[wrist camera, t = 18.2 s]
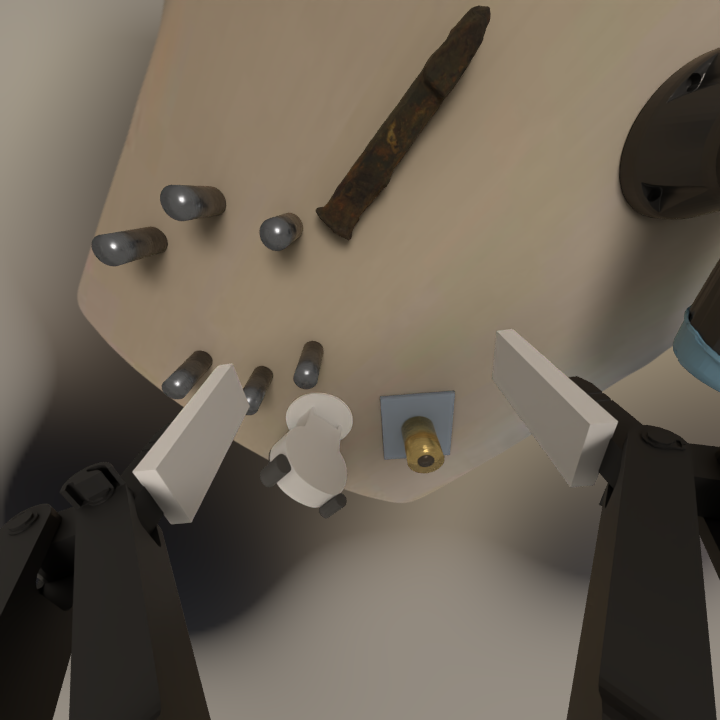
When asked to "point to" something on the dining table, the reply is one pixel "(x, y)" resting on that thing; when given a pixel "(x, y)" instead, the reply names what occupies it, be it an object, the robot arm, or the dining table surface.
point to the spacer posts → (150, 241)
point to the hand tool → (404, 124)
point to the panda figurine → (312, 453)
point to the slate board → (413, 405)
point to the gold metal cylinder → (421, 445)
